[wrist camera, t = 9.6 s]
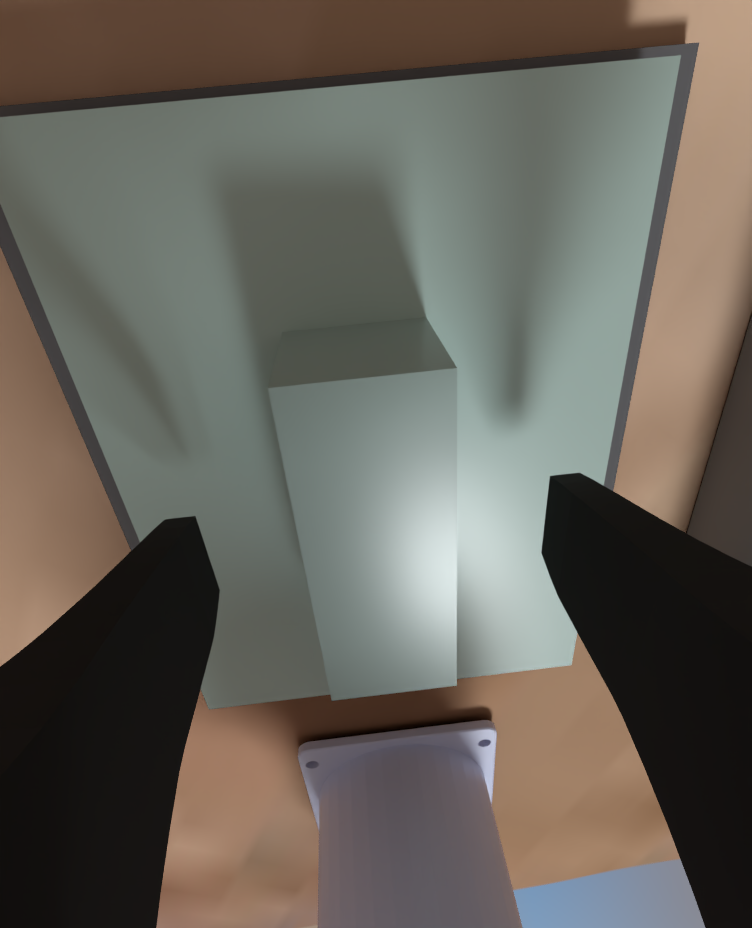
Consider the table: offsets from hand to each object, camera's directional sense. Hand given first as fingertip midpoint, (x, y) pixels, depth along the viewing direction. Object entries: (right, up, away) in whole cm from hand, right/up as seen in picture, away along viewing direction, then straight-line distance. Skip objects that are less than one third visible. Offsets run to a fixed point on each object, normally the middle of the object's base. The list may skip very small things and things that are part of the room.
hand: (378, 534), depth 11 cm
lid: (0, +2, +3) cm, 4 cm away
